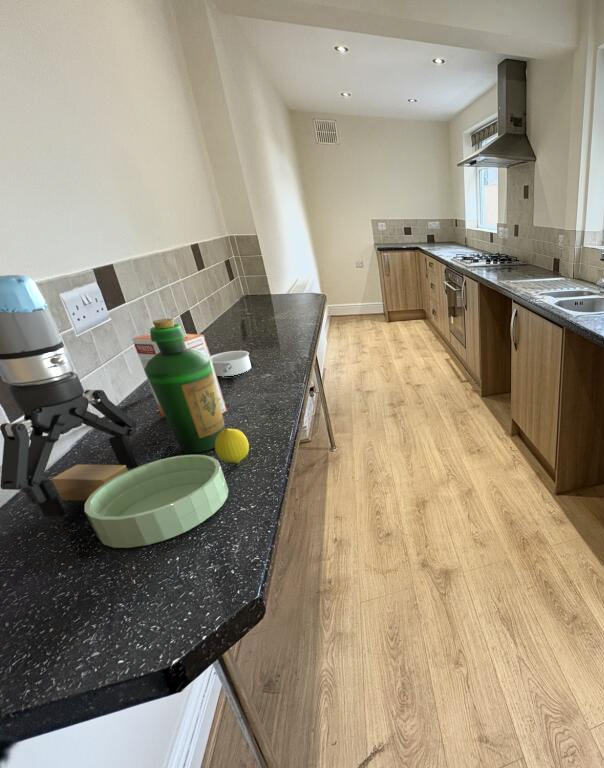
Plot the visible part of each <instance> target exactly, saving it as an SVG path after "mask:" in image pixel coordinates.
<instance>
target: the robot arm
mask: <svg viewBox="0 0 604 768" xmlns="http://www.w3.org/2000/svg"><path fill="white" fill-rule="evenodd" d="M48 306H49V305H48V302H47V301H46V300H45V299H44V297H43V295H42V293H41V291H40V290H39V287H38V285H37V284H36V282H35V281H34V280H33V279H32V278H30V277H29V276H26V275H20V274H8V275H0V377H1V379H2V381H3V382H4V383H7V384H9V385H8V387H7V390H8V392H9V394H10V396H11V398H12V399H13V401H14V403H15V405H16V407H17V408H19V409H20V410H21V411H22V412H23V419H22V420H19V421H15V422H13V423H12V422H9V423H8V422H5V423H1V425H0V433H1V435H2V437H3V447H2V462H1V471H0V473H1V474H0V489H1V490H8V491H9V490H11V491H12V490H14V491H21V490H22V491H23V492H24V494H25V496H26V497H27V499H28V501H29V502H30V503H31V504H34V505H35V504H37V505H38V506H39V509H40V511H41V512H42V514H43V516H44V517H50V518H51V517H52V518H53V517H54V518H55V517H56V518H61V517H63V516H65V515H66V511H65V509H64V507H63V505H62V503H61V502H60V500H59V498H58V496H57V494H56V492H55V490H54V488H53V486H52V484H51V483H50V480H47V479H46V480H44V479H43V477H44V474H45V471H46V468H47V466H48V462H49V459H50V456H51V454H52V451H53V448H54V446H55V443H57V442H58V441H59V439H60V436H61V435H65V434H67V433H69V432H70V431H71V430H73V429H77V428H79V427H83V425H86V426H88V427H90V428H93V429H95V430H98V431H100V432H103V433H105V434H108V435H111V437H109V438H107V440H108V442H109V445H110V447H111V449H112V452H113V453H114V456H115V458H116V461H117V463H118V465H126V468H127V470H129V469H130V470H132V469H134V468H137V467H139V465H138V462H137V460H136V458H135V455H134V453H133V451H132V450H134V445H133V442H132V440H131V438H130V437H131V436H133V435H134V429H135V428H137V422H136V421H135V420H134V419H133V418H131V416H129V415H128V414H126V413H125V411H123V410H121V409H120V408H119V406H117V405H116V404H114V403H113V402H112V401H111V400H110V399H109V398H108V396H107V394H106V392H105V391H104V390H102V389H86V390H85V389H84V387H83V385H82V381H81V380H80V378H79V375H78V374H77V373H76V372H73V370H74V369H75V367H74V365H73V363H72V360H71V358H70V356H69V354H68V351H67V349H66V347H65V344H64V342H63V341H62V339H61V336H60V333H59V331H58V328H57V326H56V323H55V322H54V320H53V317H52V315H51V312H50V310H49V307H48ZM89 405H90V406H92V407H93V409H95V410H96V411H98V412H99V413H100V414H102V415H103V416H104V417H106V418H107V419H108V420H107V419H105V418H103V417H100V416H99V415H97V414H95V413H93V412H90V410H89V411H88V407H89ZM30 428H31V429H30ZM29 434H30V435H29ZM44 434H46V435H44Z"/></svg>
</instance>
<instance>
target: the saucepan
mask: <svg viewBox="0 0 604 768" xmlns="http://www.w3.org/2000/svg"><path fill="white" fill-rule="evenodd" d="M249 355H250V352H249V351H247V350H232V351H231V350H229V351H224V352H219V353H215V354H213V355H210V357H211V360H212V364H213V367H214V370H215V373H216V377H218V376H222V377H221V378H225V377H224V376H234V375H238V374H241V373H244V372H246V371H247V372H248V371H249V370H251V369H252V365H251V360H250V356H249ZM247 372H246V373H247ZM244 374H245V373H244ZM238 376H239V375H238ZM234 377H235V376H234Z"/></svg>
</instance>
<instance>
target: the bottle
mask: <svg viewBox="0 0 604 768" xmlns="http://www.w3.org/2000/svg"><path fill="white" fill-rule="evenodd" d="M152 325H154V326H153V327H150V328H149V333H150V335H151V341H152V342H156V344H157V346H158V348H159V350H160V352H159V353H158V354H156V355H155V356H154V357H153V358H152V359H150V360H149V361H148V363H147V365H146V367H145V369H144V368H143V371H144V374H145V373H146V374H145V376H146V375H147V376H146V378H147V377H148V379H149V382H150V384H151V386H152V388H153V390H154V393H155V395H156V397H157V399H158V401H159V403H160V406H161V408H162V410H163V412H164V414H165V416H166V417H165V418H166V421H167V423H168V425H169V427H170V430H171V431H172V434H173V436H174V438H175V441H176V443H177V444H178V447H179V449H180V450H181V451H182V453H190V454H196V453H197V454H198V453H204V452H208V451H210V450H213V449H215V440H216V437H217V436H218V434H219V433H221V432H222V431H224V430H225V429H226V424H225V420H224V415H223V414H222V411H221V407H220V403H219V398H218V394H217V390H216V385H215V381H214V377H213V372H212V368H211V364H210V360H209V359H208V358H207V357H205V356H204V355H203V354H201V353H200V352H199V351H195V350H192V349H189V348H185V345H184V340H183V338H184V337H185V336H186V335H185V334H186V333H185V331H184V330H183V328H182V327H181V325H180V324H177V323H175V320H174V318H160V319H155V320H152ZM148 379H147V380H148ZM149 382H148V383H149ZM150 384H149V385H150Z"/></svg>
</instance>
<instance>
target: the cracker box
mask: <svg viewBox="0 0 604 768" xmlns="http://www.w3.org/2000/svg"><path fill="white" fill-rule="evenodd" d="M185 335H186V336H185V337H184V338H183V340H184V345H185V348H189V349H192V350H195V351H199V352H200V353H201V354H203V355H204V356H205V357H207V358H208V359H209V360H210V364H211V368H212V372H213V377H214V381H215V385H216V390H217V394H218V398H219V403H220V407H221V411H222V415H223V414H225V413H227V412H228V408H227V405H226V403H225V399H224V396H223V393H222V390H221V387H220V383H219V380H218V376H216V373H215V370H214V367H213V364H212V360H211V357H210V356H211V354H210V351H209V348H208V344H207V341H206V338H205V335H204V334H197V333H196V334H195V333H185ZM131 340H132V343H133V345H134V348H135V350H136V353H137V356H138V358H139V361H140V363H141V365H142V368H143V370H144V369H145V367H146V365H147V363H148V361H149V360H150V359H152V358H153V357H154V356H155V355H156V354H158V353H159V352H160V350H159V348H158V346H157V344H156V342H152V341H151V335H150V332H149V333H146V334H141V335H138V336H135V337H133V338H132V339H131ZM144 374H145V376H146V379H147V381H148V385H149V387H150V389H151V392H152V394H153V397H154V400H155V402H156V405H157V408H158V410H159V413H160V415H161V417H162V418H166V416H165V414H164V412H163V410H162V408H161V406H160V403H159V401H158V399H157V397H156V395H155V393H154V390H153V388H152V386H151V384H150V382H149V379H148V377H147V375H146V373H145V372H144Z"/></svg>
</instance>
